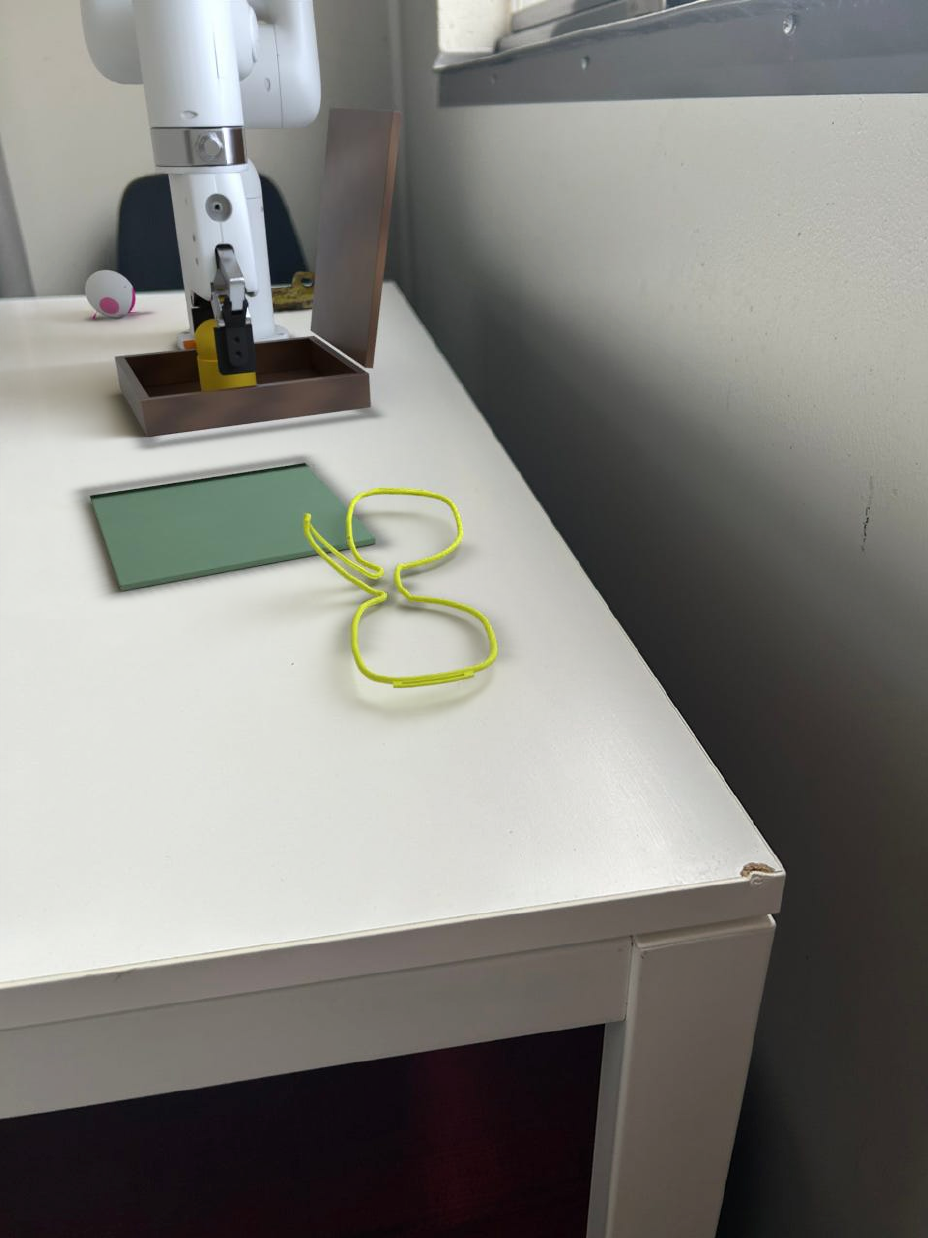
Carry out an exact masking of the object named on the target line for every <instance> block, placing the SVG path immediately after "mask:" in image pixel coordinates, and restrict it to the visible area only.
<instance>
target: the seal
mask: <svg viewBox="0 0 928 1238" xmlns="http://www.w3.org/2000/svg"><path fill="white" fill-rule="evenodd" d="M303 279H308V280H309V279H310V280H312V281H313V282H312V283H311V284H310V285H304V283H302V280H303ZM290 281H291V282H290V284H291V285H290V286H289V285H288V286H280V287H271V293H272V304H273V312H278V311H279V312H280V311H281V312H282V311H295V310H308V309H312V307H313V295H314V283H315V271H303V270H302V271H301V270H299V271H296V272H295V273H294V274H293V275H292V278H291V280H290Z"/></svg>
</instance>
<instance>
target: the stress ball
mask: <svg viewBox="0 0 928 1238" xmlns="http://www.w3.org/2000/svg"><path fill="white" fill-rule="evenodd" d="M84 293H85V298H86V300H87V302H88V304H89V305H90V306H91V308H93V310H95V311H96V312H95V313H94V314H93V316H92V320H95V319H96V316H97V313H99V314H100V315H102V316H103V317H108V318H112V319H114V318H115V319H117V318H118V319H119V318H123V317H125V316H127V315H129V314H139V311H133V309H134V307H135V305H136V292H135V289H134V286H133V285H132V283H131V282H130V281H129V280H128V279H127V277H125V276H124V275H122V274H121V273H119V272H117V271H114V270H111V269H102V270H98V271H95V272H93V273H92V274H91V275H89V276H88V278H87V280H86V282H85V285H84Z"/></svg>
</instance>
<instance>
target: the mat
mask: <svg viewBox="0 0 928 1238" xmlns="http://www.w3.org/2000/svg"><path fill="white" fill-rule="evenodd" d="M89 498H90V499H89V500H90V501H91V504H92V507H93V510H94V514H95V516H96V520H97V522H98V526H99V529H100V532H101V535H102V537H103V540H104V544H105V547H106V551H107V553H108V556H109V559H110V563H111V566H112V569H113V571H114V574H115V577H116V580H117V583H118V586H119V589H120V591H121V592H124V591H130V590H135V589H140V588H145V587H150V586H157V585H161V584H167V583H172V582H178V581H181V580H182V581H183V580H188V579H193V578H198V577H204V576H209V575H215V574H220V573H226V572H230V571H236V570H241V569H247V568H252V567H257V566H261V565H262V566H263V565H268V564H273V563H278V562H284V561H288V560H289V561H290V560H293V559H295V560H296V559H301V558H305V557H311V556H315V555H319V554H318V553H317V552H316V550H315V549H314V548H313V547H312V545H311V544H310V542H309V541H308V539H307V538H306V536H305V534H304V528H303V521H304V517H303V515H304V514H305V513H308V514H310V515H311V520H310V523H311V525H312V526H313V528H314V529H315V530H316V531H317V533H318V534H319V535H320V536H321V537H322V538H323V539H324V540H325V541H326V542H327V543H328V544H330V545H331V546H332V547H333V548H335V549H336V550H337V551H338V552H339V551H343V550H348V549H349V550H350V548H349V545H348V540H347V532H346V517H347V512H348V508H349V507H347V506H346V505H345V504H344V502H342V501H341V500H340V498H339V497H338V496H337V495H336V494H335V493H334V492H333V491H332V490H331V489H330V487H328V486H327V484H325V483H324V482H323V480H322V479H321V478H320V477H319V476H318V475H317V474H316V473H315V472H314V470H312V469H311V468H310V467H309V466H308V464H307V463H306V462H301V463H295V464H288V465H281V466H275V467H267V468H263V469H255V470H248V471H243V472H236V473H229V474H222V475H216V476H209V477H203V478H197V479H190V480H184V481H183V480H182V481H178V482H177V481H176V482H170V483H164V484H163V483H162V484H156V485H150V486H144V487H138V488H137V487H136V488H130V489H123V490H117V491H110V492H105V493H97V494H91V495H89ZM351 524H352V537H353V542H354V545H355V547H356V548H358V547H364V546H370V545H374V544H376V543H377V542H376V537H375V536H374V535H373V534H372V533H371V531H369V530H368V529H367V527H365V525H364V524H363V523H362V522H361V521H360V520H359V519H358V518H357V517H356V515H354V513H352V519H351ZM309 531H310V533H311V535H312V537H313V540H314V541H315V542H316V544H317V545H318V546H319V547H320V548H321V549H322V550H323V551H324V552H325V553H326V554H327V553H332V552H331V551H329V550H328V549H327V548H326V547H325V546H324V545H323V544H322V543H321V542H320V541H319V540H318V539H317V538H316V537H315V535H314V534H313V533H312V532H311V530H310V529H309Z"/></svg>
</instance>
